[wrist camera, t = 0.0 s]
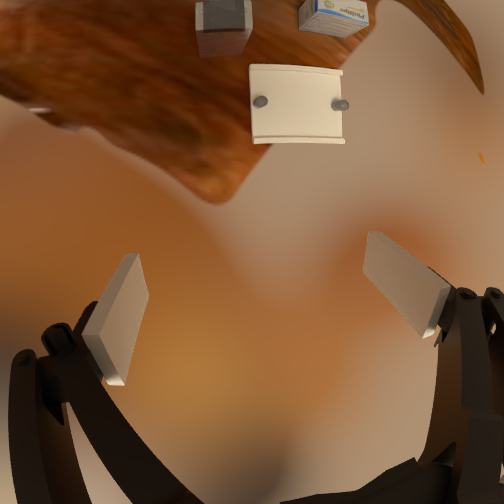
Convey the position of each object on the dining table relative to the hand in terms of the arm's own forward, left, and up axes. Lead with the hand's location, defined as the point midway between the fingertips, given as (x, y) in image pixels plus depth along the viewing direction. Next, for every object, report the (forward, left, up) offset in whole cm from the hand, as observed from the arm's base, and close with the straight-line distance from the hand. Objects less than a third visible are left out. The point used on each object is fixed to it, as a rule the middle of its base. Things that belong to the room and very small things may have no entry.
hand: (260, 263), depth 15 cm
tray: (-11, +11, -28) cm, 32 cm away
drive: (-21, 0, -28) cm, 35 cm away
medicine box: (-26, +16, -28) cm, 42 cm away
